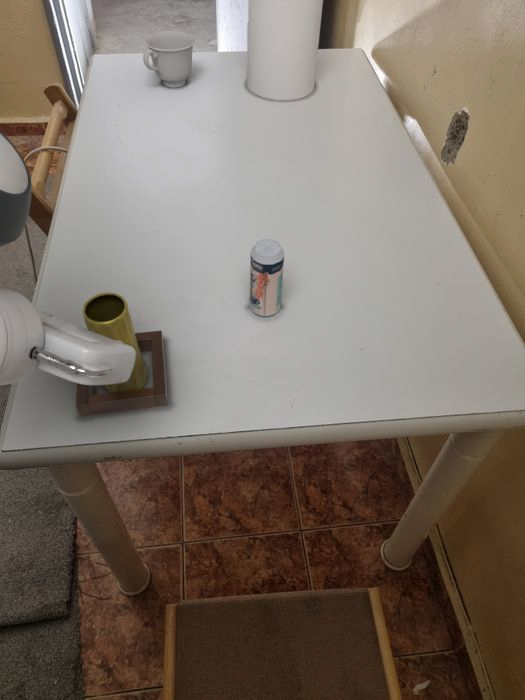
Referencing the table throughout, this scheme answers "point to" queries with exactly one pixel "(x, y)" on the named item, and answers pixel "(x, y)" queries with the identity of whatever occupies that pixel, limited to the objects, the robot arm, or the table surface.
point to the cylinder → (282, 47)
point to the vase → (115, 333)
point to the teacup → (170, 56)
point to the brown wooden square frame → (130, 398)
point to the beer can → (266, 277)
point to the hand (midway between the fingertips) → (81, 333)
